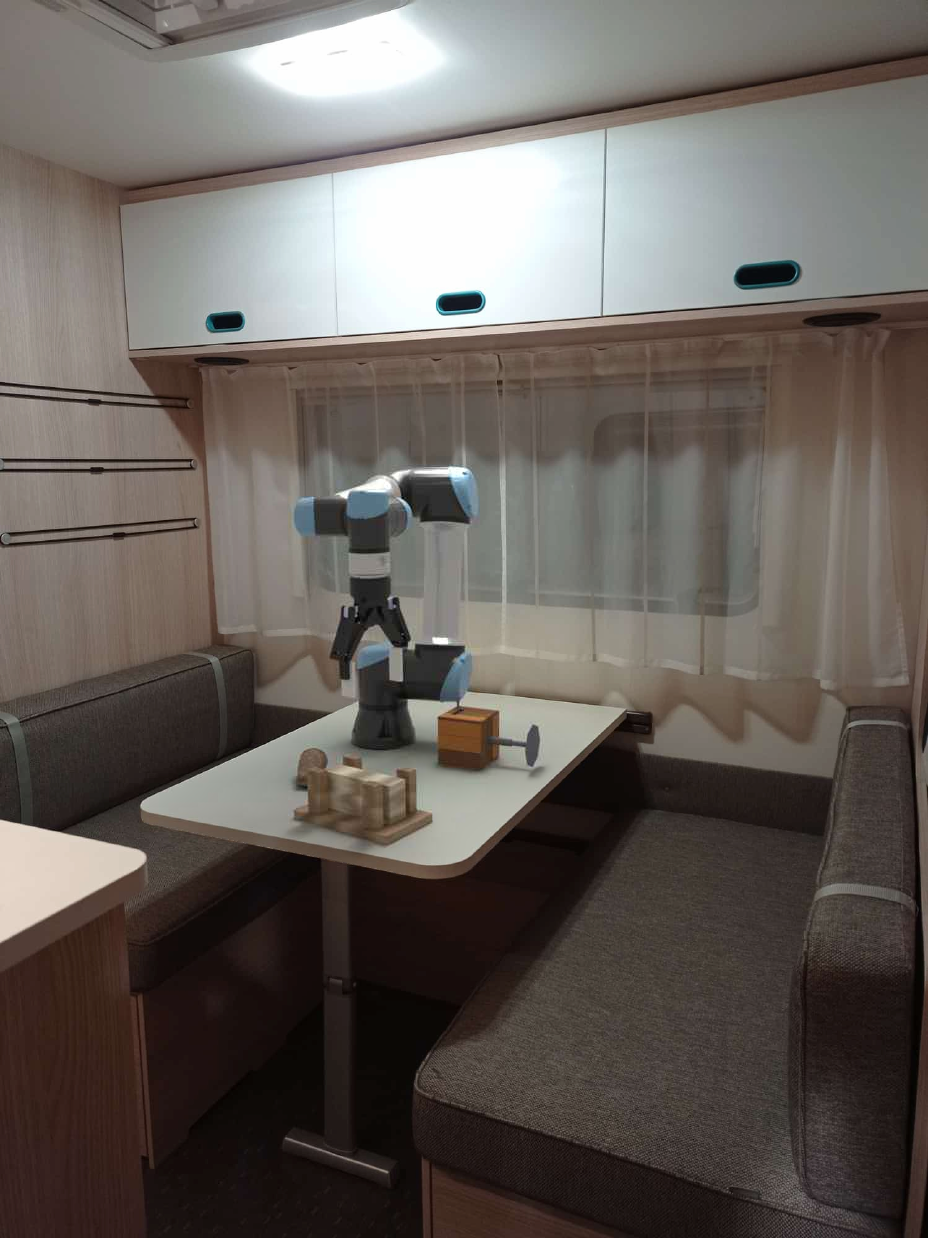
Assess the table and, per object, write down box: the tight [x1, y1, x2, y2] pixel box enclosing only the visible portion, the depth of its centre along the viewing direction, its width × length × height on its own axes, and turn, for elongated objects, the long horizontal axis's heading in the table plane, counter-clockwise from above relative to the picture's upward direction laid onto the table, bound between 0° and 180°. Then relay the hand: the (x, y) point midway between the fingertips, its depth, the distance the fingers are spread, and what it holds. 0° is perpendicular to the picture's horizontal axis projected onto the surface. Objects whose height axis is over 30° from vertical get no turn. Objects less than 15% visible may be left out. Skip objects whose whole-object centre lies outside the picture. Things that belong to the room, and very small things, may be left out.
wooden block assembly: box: [293, 753, 433, 846], centre depth 162 cm, size 22×13×10 cm, turn 55°
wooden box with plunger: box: [437, 696, 541, 772], centre depth 194 cm, size 11×20×14 cm, turn 65°
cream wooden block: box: [325, 763, 406, 825], centre depth 162 cm, size 16×4×7 cm, turn 56°
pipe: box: [295, 747, 329, 788], centre depth 182 cm, size 6×17×10 cm
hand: (373, 688), depth 167 cm, fingers open, 13 cm apart
